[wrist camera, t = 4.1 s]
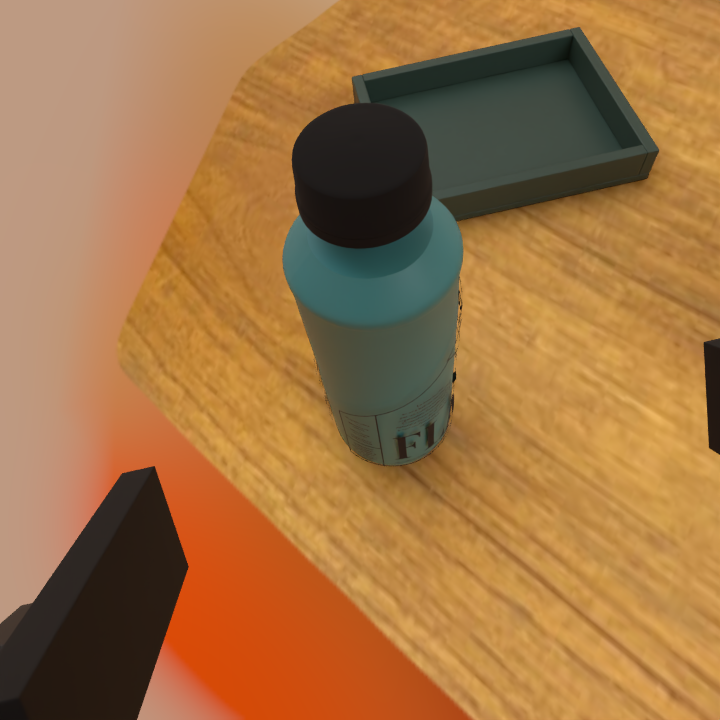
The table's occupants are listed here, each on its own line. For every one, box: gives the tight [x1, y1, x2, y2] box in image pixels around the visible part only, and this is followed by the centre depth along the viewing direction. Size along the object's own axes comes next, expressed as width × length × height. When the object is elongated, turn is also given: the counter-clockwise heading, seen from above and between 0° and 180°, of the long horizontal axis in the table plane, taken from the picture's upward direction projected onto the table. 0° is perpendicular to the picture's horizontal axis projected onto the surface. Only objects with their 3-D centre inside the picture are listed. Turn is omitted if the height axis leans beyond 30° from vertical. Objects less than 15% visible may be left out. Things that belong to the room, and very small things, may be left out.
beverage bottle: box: [283, 103, 463, 466], centre depth 25 cm, size 6×7×20 cm
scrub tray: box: [352, 27, 659, 221], centre depth 43 cm, size 18×14×2 cm
